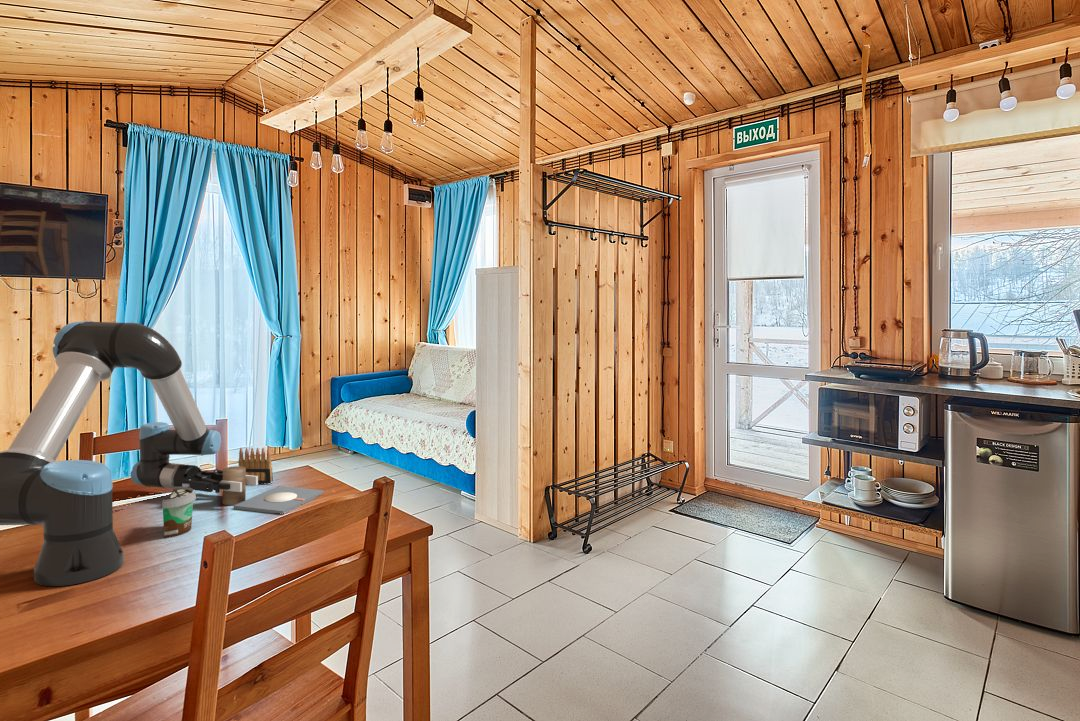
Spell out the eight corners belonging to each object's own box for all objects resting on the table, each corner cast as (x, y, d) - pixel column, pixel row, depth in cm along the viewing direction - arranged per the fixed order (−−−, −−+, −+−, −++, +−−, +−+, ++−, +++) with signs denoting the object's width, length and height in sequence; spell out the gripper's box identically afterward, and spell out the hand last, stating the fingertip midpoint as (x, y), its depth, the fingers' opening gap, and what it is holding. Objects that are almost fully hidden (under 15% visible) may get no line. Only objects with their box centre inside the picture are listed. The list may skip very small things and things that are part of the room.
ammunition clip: (272, 482, 190) (272, 447, 189) (270, 484, 188) (270, 448, 187) (239, 482, 190) (239, 446, 189) (237, 483, 188) (236, 447, 187)
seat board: (283, 514, 161) (283, 510, 161) (233, 509, 164) (233, 504, 164) (323, 493, 181) (323, 489, 180) (278, 488, 184) (278, 485, 184)
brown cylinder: (236, 506, 166) (236, 472, 166) (217, 504, 167) (217, 470, 167) (249, 500, 172) (250, 467, 172) (232, 498, 173) (232, 465, 173)
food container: (191, 537, 143) (190, 498, 142) (162, 540, 141) (161, 500, 140) (200, 520, 155) (199, 484, 154) (174, 523, 152) (173, 486, 152)
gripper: (206, 480, 183) (270, 487, 178) (155, 498, 164) (225, 506, 159) (206, 457, 182) (270, 463, 177) (154, 473, 164) (225, 480, 159)
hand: (249, 483), depth 168 cm, fingers closed on brown cylinder, 6 cm apart
